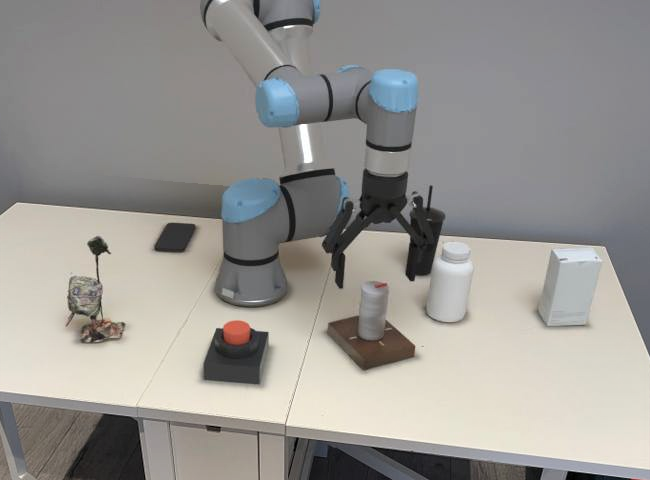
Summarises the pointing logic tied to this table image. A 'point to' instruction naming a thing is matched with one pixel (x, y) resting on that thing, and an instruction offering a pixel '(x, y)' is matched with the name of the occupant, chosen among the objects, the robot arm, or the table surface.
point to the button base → (236, 358)
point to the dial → (373, 310)
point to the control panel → (370, 344)
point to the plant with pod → (91, 301)
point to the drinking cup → (435, 222)
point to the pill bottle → (450, 283)
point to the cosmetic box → (569, 286)
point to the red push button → (236, 332)
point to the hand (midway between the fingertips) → (374, 281)
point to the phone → (175, 237)
